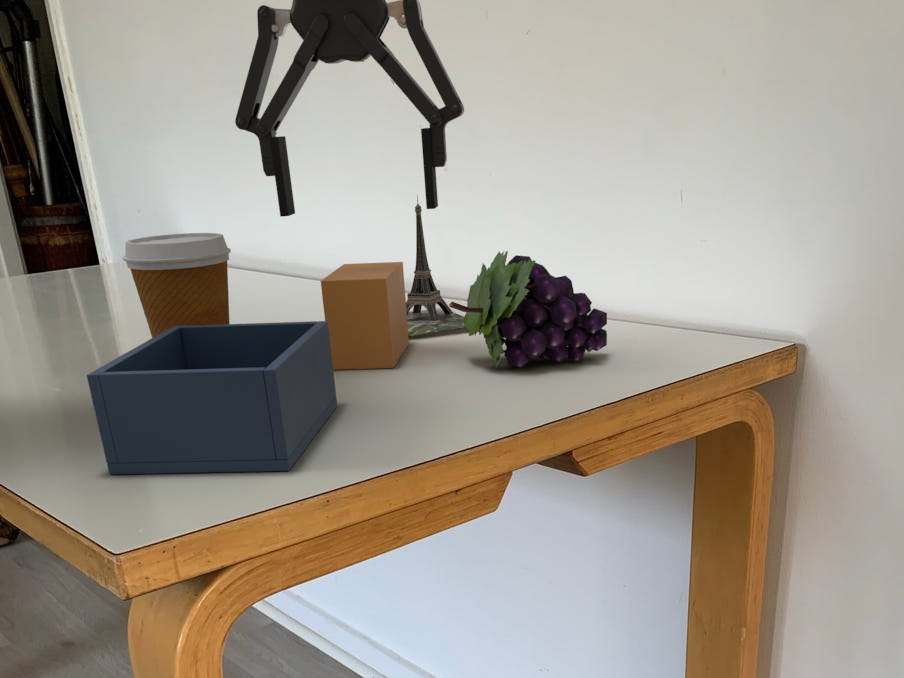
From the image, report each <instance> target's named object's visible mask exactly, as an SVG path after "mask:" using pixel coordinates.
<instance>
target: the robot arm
mask: <svg viewBox="0 0 904 678" xmlns="http://www.w3.org/2000/svg"><path fill="white" fill-rule="evenodd" d="M291 3H292V4H291V7H290V9H287V8H286V9H285V8H274V7H271V6H268V5H265V4H263V5H260V6H259V7H258V9H257V13H256V16H257V39H256V43H255V47H254V50H253V54H252V56H251V57H252V58H251V61H250V64H249V69H248V72H247V75H246V79H245V83H244V87H243V90H242V94H241V97H240V100H239V105H238V108H237V112H236V116H235V118H234V120H235V121H234V123H235V126H236V127H237V128H238V129H239V130H241V131H246V132H249V133H251V134H254V135H255V136H256V137H257V139H258V143H259V147H260V148H259V149H260V155H261V162H262V169H263V173H264V175H265V176H266V177H274V179H275V180H274V181H275V187H276V188H275V189H276V195H277V203H278V209H279V216H280V217H290V216H292V215H295V214H296V209H295V201H294V194H293V193H294V192H293V185H292V178H291V169H290V163H289V154H288V145H287V141H286V140H287V138H286V136H285V135H284V136H282V135H281V136H277V134H278V132H277V131H278V130H279V127H280V126H281V124H282V123H283V120H284V119H285V118H286V116H287V114H288V112H289V110H290V109H291V107H292V105H293V104H294V102H295V100H296V98H297V96H298V95H299V93H300V92H301V90H302V88H303V86H304V84H305V83H306V81H307V79H308V78H309V76H310V74H311V72H312V71H313V70H314V69H315V68H316V66H317V64H318V63H319V61H320V62H322V63H324V64H328V65H333V64H340V63H342V62H345V61H348V62H353V63H364V62H365V61H366V60H368V59H369V58H373V60H374V61H375V62H376V63H377V64H378V66H380V67H381V68H382V69H383V71H384V72H385V73H386V74H387V76H389V78H390V79H391V80H392V81H393V83H395V85H396V87H398V88H399V90H400V91H401V92H402V93H403V94H404V96H406V98H407V99H408V101H410V103H411V104H412V105H413V106H414V107H415V108H416V110H418V112H419V113H420V115H422V116H423V118H424V119H425V120H426V121H427V122H428V124H429V127H423V128H420V135H421V136H420V137H421V148H422V162H423V177H424V190H425V204H426V206H425V207H426V210H435V209H437V208H438V206H439V199H438V186H437V170H436V168H443V167H446V164H447V162H448V156H447V154H448V153H447V140H446V127H447V125H448V123H450V122H452V121H454V120H456V119H458V118H460V117H462V116H463V115H464V112H465V105H464V104H463V102H462V100H461V98H460V96H459V94H458V92H457V90H456V88H455V86H454V83H453V82H452V80H451V78H450V76H449V74H448V72H447V70H446V68H445V66H444V64H443V62H442V60H441V58H440V56H439V53H438V52H437V50H436V48H435V47H434V43H433V42H432V40H431V37H430V36H429V34H428V33H427V30H426V29H425V25H424V19H423V13H422V7H421V2H420V0H394V1H390V2H387V1H386V0H292V2H291ZM390 18H394V20H396V22H397V25H398V26H399V27H400V28H401V29H403V30H407V32H408V35H409V38H410V40H411V41H412V43H413V45H414V47H415V49H416V51H417V53H418V55H419V57H420V59H421V61H422V63H423V65H424V67H425V69H426V71H427V73H428V75H429V77H430V79H431V80H432V83H433V84H434V87H435V88H436V90H437V92H438V94H439V96H440V99H441V100H442V102H443V104H444V106H443V107H441V108H439V107H438V106H437V104H436V103H435V102H434V101H433V100H432V99H431V97H429V95H428V94H427V93H426V91H425V90H424V89H423V88H422V87H421V86H420V84H419V83H418V82H417V81H416V79H414V77H413V76H412V74H411V73H409V71H408V70H407V69H406V67H404V65H403V64H402V63H401V62H400V61H399V60H398V58H397V57H396V56H395V54H394V53H393V52H392V50H391V49H390V48H389V47H388V46H387V44H386V43H385V42H384V41H383V40H382V39H381V37H382V35H383V34H384V32H385V29H386V27H387V25H388V24H389V21H390ZM290 25H291V26H292V28H293V29H294V30H295V32H296V33H297V34H298V36H299V37H300V39H302V42H301V44H300V46H299V47H298V50H297V51H296V52H295V55H294V57H293V60H292V63H291V64H290V66H289V67H288V69H287V71H286V73H285V75H284V77H283V79H282V80H281V82H280V83H279V85H278V87H277V88H276V90H275V92H274V94H273V96H272V98H271V99H270V102H268V105H267V107H266V108H265V110H264V112H263V114H262V115H261V117H259V114H260V111H261V107H262V104H263V101H264V97H265V93H266V89H267V86H268V82H269V79H270V75H271V71H272V69H273V65H274V61H275V58H276V54H277V51H278V48H279V47H278V46H279V41H280V40H279V39H280V38H282V37H283V38H284V36H285V34H286V31H287V28H288V27H289V26H290Z"/></svg>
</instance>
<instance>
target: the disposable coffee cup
mask: <svg viewBox="0 0 904 678" xmlns="http://www.w3.org/2000/svg"><path fill="white" fill-rule="evenodd" d="M124 245H125V246H124V247H125V248H124V255H123V256H122V260H123V261H124V262H125V263H126V267H127V268H128V269H130V273H131V275H132V279H133V282H134V285H135V288H136V291H137V294H138V297H139V301H140V304H141V307H142V310H143V313H144V316H145V319H146V323H147V325H148V329H149V332H150V335H151V339H152V338H153V337H155V336H157V335H159V334H160V333H162V332H164V331H166V330H168V329H169V328H171V327H173V326H190V325H220V324H231V323H230V301H229V300H230V299H229V298H230V297H229V277H228V275H229V273H228V271H229V270H228V261H229V260H230V257H229V256H230V253H232V250H231V248H230V247H228V245H227V242H226V240H225V237H224V235H223V234H221V233H218V232H217V233H216V232H187V233H186V232H185V233H184V232H183V233H171V234H157V235H151V236H142V237H137V238H131V239H128V240H127V241H125V244H124Z"/></svg>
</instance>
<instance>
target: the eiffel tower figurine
mask: <svg viewBox="0 0 904 678" xmlns="http://www.w3.org/2000/svg"><path fill="white" fill-rule="evenodd" d="M416 201H417V203H416V206H414V212H415V222H416V223H415V226H416V227H415V229H416V231H415V232H416V237H415V238H416V239H415V240H416V245H415V248H416V249H415V268H414V271H413V273H414V276H413V281H412V285H411V289H410V292H407V299H406V311H407V324H408V337H409V336H417V335H424V334H429V333H430V334H431V333H436V332H437V333H438V332H442V331H448V330H455V329H460V328H466V327H465V326H464V315H461V314H458V313H456V312H453V310H452V309H451V307H450V306H449V304H447V302H446V301H445V300H444V298H443V297H442V296H441V290H440V289H437V287H436V284H435V282H434V279H433V276H432V273H431V272H432V269H430V266H429V262H428V256H427V250H426V244H425V243H426V242H425V236H424V228H423V221H422V220H423V219H422V211H423V210H422V206H421V205H420V204H419V197H418V194H416ZM437 306H438V307H439V309H437ZM422 307H423V308H425V310H422ZM411 309H412V311H411Z"/></svg>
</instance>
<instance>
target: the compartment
mask: <svg viewBox="0 0 904 678" xmlns="http://www.w3.org/2000/svg"><path fill="white" fill-rule="evenodd" d="M86 379H87V383H88V388H89V391H90V396H91V400H92V404H93V410H94V415H95V418H96V422H97V426H98V431H99V435H100V441H101V443H102V448H103V453H104V457H105V461H106V464H107V469H108V473H109V475H147V474H148V475H151V474H152V475H153V474H154V475H155V474H157V475H158V474H199V473H200V474H201V473H204V474H206V473H249V472H250V473H251V472H255V473H256V472H289V471H290V470H291V469H292V468H293V467H294V465H295V463H297V461H298V460H299V458H300V457H301V455H302V454H303V453H304V451H305V450H306V449H307V447H308V446H309V445H310V443H311V442H312V441H313V440H314V438H315V436H316V435H317V434H318V433H319V431H320V429H321V428H322V427H323V426H324V424H325V423H326V422H327V420H328V419H329V418H330V416H331V415H332V414H333V413H334V411H335V410H336V408H337V407H338V399H337V390H336V382H335V372H334V370H333V363H332V355H331V346H330V337H329V328H328V322H327V321H325V320H318V321H317V320H315V321H286V322H285V321H284V322H255V323H253V322H252V323H251V322H250V323H230V324H220V325H190V326H173V327H171V328H169V329H168V330H166V331H164V332H162V333H160V334H159V335H157V336H155V337H153V338H152V337H151V338H150V339H148V340H147V341H145V342H143V343H140V344H139V345H137V346H135V347H134V348H132V349H130V350H128V351H127V352H125V353H124V354H121V355H119V356H118V357H116V358H114V359H112V360H111V361H109V362H107V363H106V364H103V365H102V366H101V367H99V368H97V369H95V370H93V371H91V372H89V373H88V374H87V375H86Z"/></svg>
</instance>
